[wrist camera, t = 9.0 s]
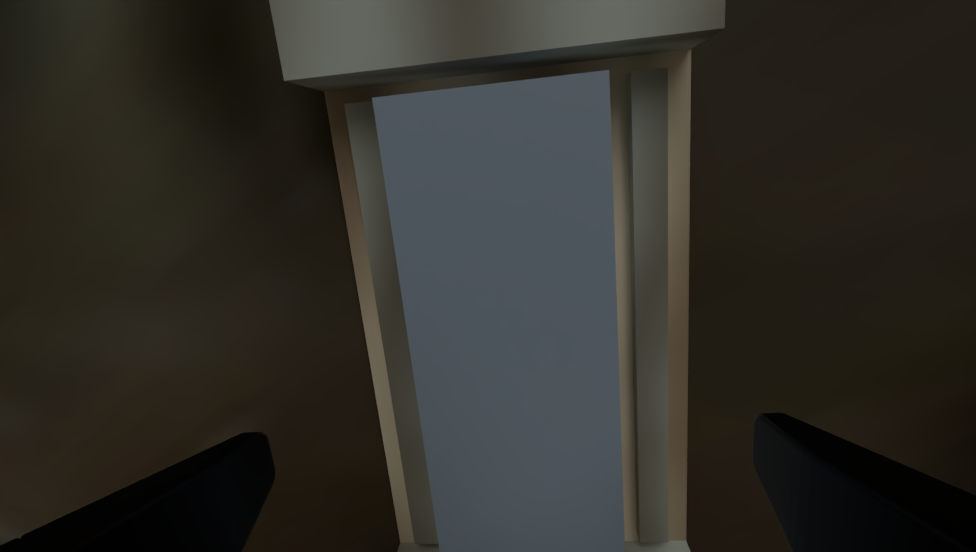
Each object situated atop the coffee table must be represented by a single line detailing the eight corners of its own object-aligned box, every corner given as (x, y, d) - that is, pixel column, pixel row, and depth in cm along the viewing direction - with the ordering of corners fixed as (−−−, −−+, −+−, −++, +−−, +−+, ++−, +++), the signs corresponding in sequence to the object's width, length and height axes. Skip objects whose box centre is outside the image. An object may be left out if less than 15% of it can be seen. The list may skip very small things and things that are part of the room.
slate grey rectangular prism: (578, 101, 14) (608, 69, 9) (597, 498, 18) (628, 666, 12) (434, 116, 15) (372, 97, 9) (480, 500, 18) (456, 663, 13)
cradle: (681, -57, 14) (728, -121, 11) (678, 581, 20) (708, 671, 16) (320, -6, 15) (259, -50, 12) (416, 581, 21) (393, 664, 18)
